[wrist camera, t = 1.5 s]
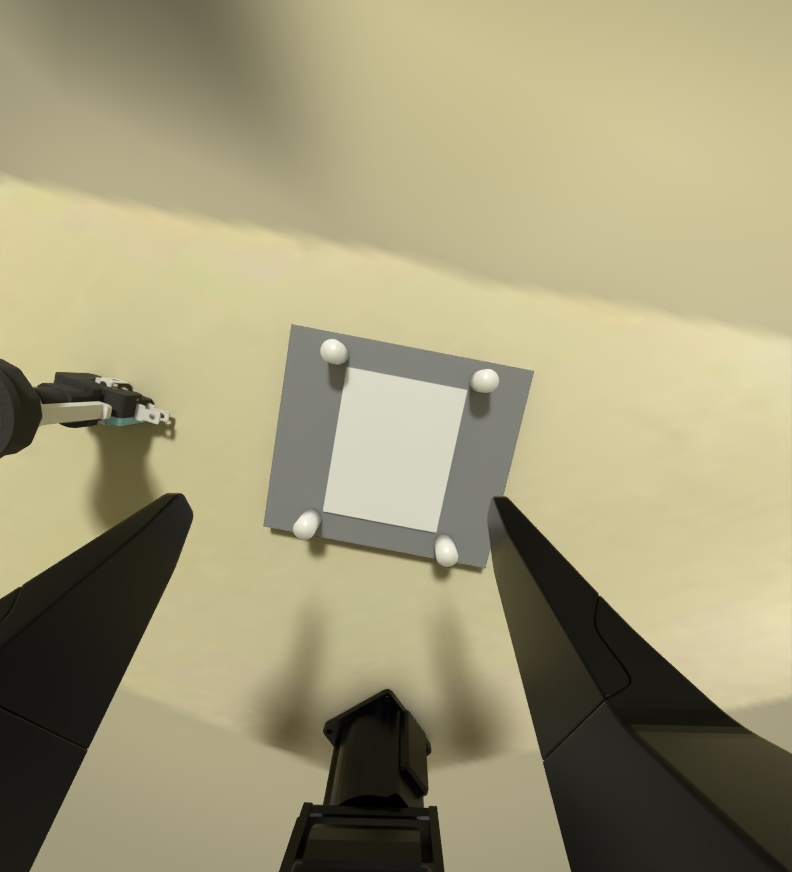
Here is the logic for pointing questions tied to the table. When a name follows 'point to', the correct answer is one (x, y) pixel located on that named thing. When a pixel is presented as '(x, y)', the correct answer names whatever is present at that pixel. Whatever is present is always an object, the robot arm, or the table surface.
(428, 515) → the mounting base
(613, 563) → the table surface
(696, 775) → the robot arm
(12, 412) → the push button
